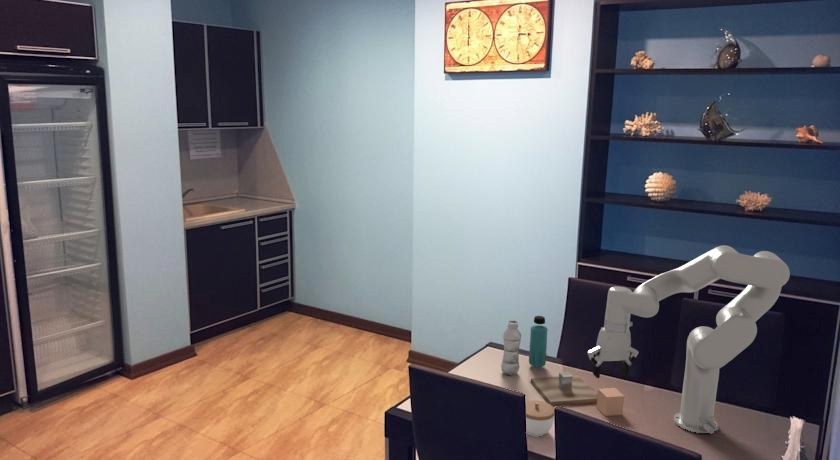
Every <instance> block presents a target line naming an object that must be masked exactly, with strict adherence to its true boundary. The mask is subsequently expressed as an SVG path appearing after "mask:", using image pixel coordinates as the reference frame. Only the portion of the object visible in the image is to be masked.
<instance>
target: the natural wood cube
mask: <svg viewBox="0 0 840 460" xmlns="http://www.w3.org/2000/svg"><path fill="white" fill-rule="evenodd" d="M597 395H598V396H597V403H596V408H597V410H599V412H600V413H602V415H603V416H605V417H611V416H623V414H624V413H623V412H624V402H625V395H624V394H623V393H622V392H620V390H618V389H617V388H616V387H607V388H606V387H605V388H604V387H603V388H598V389H597Z"/></svg>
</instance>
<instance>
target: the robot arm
mask: <svg viewBox="0 0 840 460" xmlns="http://www.w3.org/2000/svg"><path fill="white" fill-rule="evenodd" d="M790 274H791V273H790V268H789V266H788V264H787V263H785V261H783V260H782V259H781V257H779V256H778V255H777V254H776V253H774V252H771V251H767V250H761V251H759V252H756V253H755V254H754V255H748V254H743V253H740V252H738V251H737V250H736V249H734V248H733V247H731V246H730V245H725V244H723V245H719V246H716V247H714V248H712V249H710V250H708V251H707V252H705V253H703V254H701V255H699V256H698V257H695V258H694V259H693V260H690V261H688V262H687V263H685V264H683V265H681V266H679V267H676V268H674V269H671V270H669V271H666V272H663V273H660V274H659V275H656V276H655V277H652V278H651V279H648V280H647V281H645V282H643V283H642V284H640V285H638V286H637V287H636V288H634V290H633V291H632V289H630V288H628V287H625V286H618V285H617V286H616V285H615V286H612V287H609V288H608V292H607V300H606V308H605V313H604V314H605V315H604V322H603V323H604V324H603V327H600V330H599V332H598V334H597V340H596V345H595V347H593V348H592V349H589V350H588V351H587V352H586V353H587V356H588V359H589V361H590V362H592V364H593V367H592V374H593V375H594V377H595V378H596V379H600V377H601V371H602V369H601V365H602V363H604V362H614V361H616V362H619V361H620V362H621V361H622V362H621V367H620V368H621V369H620V375H622V376H623V377H624V378H628V375H629V372H630V367H631V366H632V364H633V362H634V361H635V360H636V358H637V356H638V355H639V350H637V349H635V348H633V347H632V346H631V344H632V341H631V340H632V338H631V331H630V327H633V321H631V315H634V316H638V317H641V318H652V317H654V316H655V315H657V314H658V312H659V310H660V309H659V308H660V303H659V302H660V301H662V300H665V299H666V298H668V297H670V296H672V295H675V294H680V293H696V292H698V291H700V290H701V289H704V288H706V287H707V286H709V285H710V284H713V283H714V282H716V281H719V280H724V281H727V282H730V283H736V284H741V285H746V287H745V288H744V289H743V290H742V291H740V293H739V294H738V295H736V296H735V297H734V298H733V299H732V300H731V301H730V302H728V303H727V304H726V305H725V306H723V307H722V308H721V309H720V310H719V311H718V312H717V314H716V318H715V322H716V325H717V326H716V327H715V328H712V327H710V326H706V325H705V326H703V325H702V326H701V325H700V326H698V327H695V328H694V329H692V330H691V331H690V332H689V335H688V336H687V340H686V355H685V356H686V358H685V366H684V367H685V368H684V369H685V370H684V377H683V384H682V393H681V401H680V409H679V412H676V413H675V414H674V417H673V421H674V423H675V424H676V425H677V426H678V427H679V426H680V428H681V429H683V430H685V429H686V431H687V430H688V432H690V431H691V433H694V432H696V433H695V434H699V433H710V435H712V434H715V432H714V431H716V430H717V431H718V430H719V428H720V427H719V425H718V423H717V421H716V417H715V416H714V414H715V407H716V400H717V399H716V398H717V392H718V383H719V378H720V369H721V368H722V367H724V366H725V365H727V364H728V363H729V362H731V361H732V360H734V358H736V357H737V356H738V355H739V354H740V353H741V352H743V351H744V350H746V348H748V347H749V346H750V345H751V344H752V343H753V342H754V340H755V338H756V337H757V334H758V327H757V323H756V322H757V321H758V320H759V319H760V318H762V316H763V315H764V314H766V313H767V312H768V311H769V310H770V309H771V308H772V307H773V306H774V305H775V304H776V302H777V300H778V299H779V296H780V295H781V291H782V287H783V286H785V285H786V284H787V282H788V281H789V279H790V277H791V276H790ZM594 355H595V357H594ZM717 431H716V432H717Z"/></svg>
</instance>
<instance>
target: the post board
mask: <svg viewBox="0 0 840 460" xmlns="http://www.w3.org/2000/svg"><path fill="white" fill-rule="evenodd" d="M530 383H531V385H532V386H533V387H534V389H536V391H538V393H539V394H540V395H541V396H542V398H543V399H544V400H545V402H546V403H548V404H550V405H551V406H553V407H554V406H568V405H581V404H593V403H594V404H597V396H598V393H596V392H595V391H594V389H592V388H591V387H590V386H589V384H587V383H586V381H584V380H583V378H581V377H580V376H579V375H577V374H576V375H573V374H571V373H570V372H569V371H565V372H558V376H548V377H532V378H530Z"/></svg>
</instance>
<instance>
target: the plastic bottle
mask: <svg viewBox="0 0 840 460" xmlns="http://www.w3.org/2000/svg"><path fill="white" fill-rule="evenodd" d="M506 327H507V328H506V330H504V332H503V334H502V336H503V337H502V338H503V339H502V340H503V356H502V361H501V365H500V367H501V372H502V373H503V374H504V375H507V376H514V375H515V376H516V375H518V373H519V371H520V362H519V361H520V360H519V352H520V351H519V350H520V346H521V345H520V344H521V341H522V333H521V332H520V330H519V329H518V328H519V322H518V321H517V320H512V319H511V320H508V321H507V326H506Z"/></svg>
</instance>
